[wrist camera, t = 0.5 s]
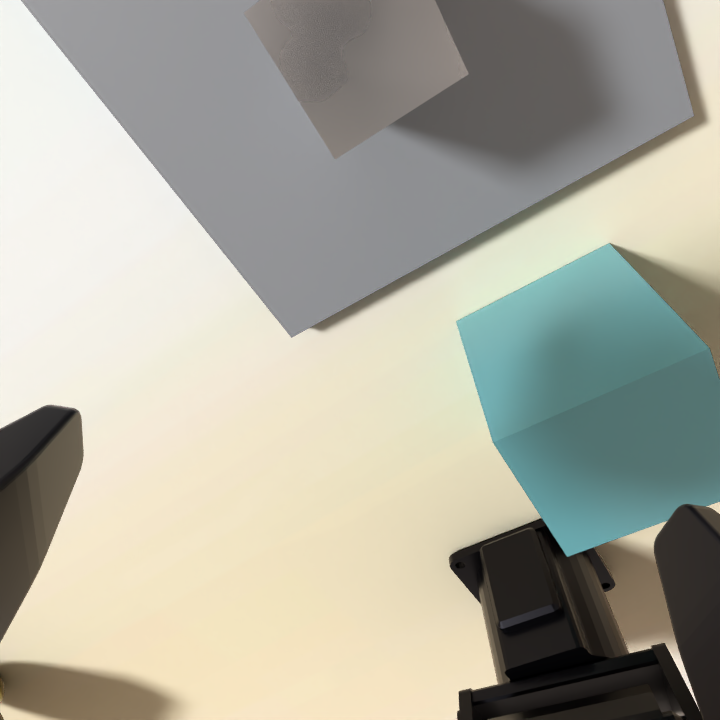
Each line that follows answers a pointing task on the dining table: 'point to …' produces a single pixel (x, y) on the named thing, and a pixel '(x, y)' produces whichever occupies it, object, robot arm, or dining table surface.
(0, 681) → the scalloped urn planter
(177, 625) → the dining table surface
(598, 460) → the teal block
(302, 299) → the base board
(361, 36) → the post
